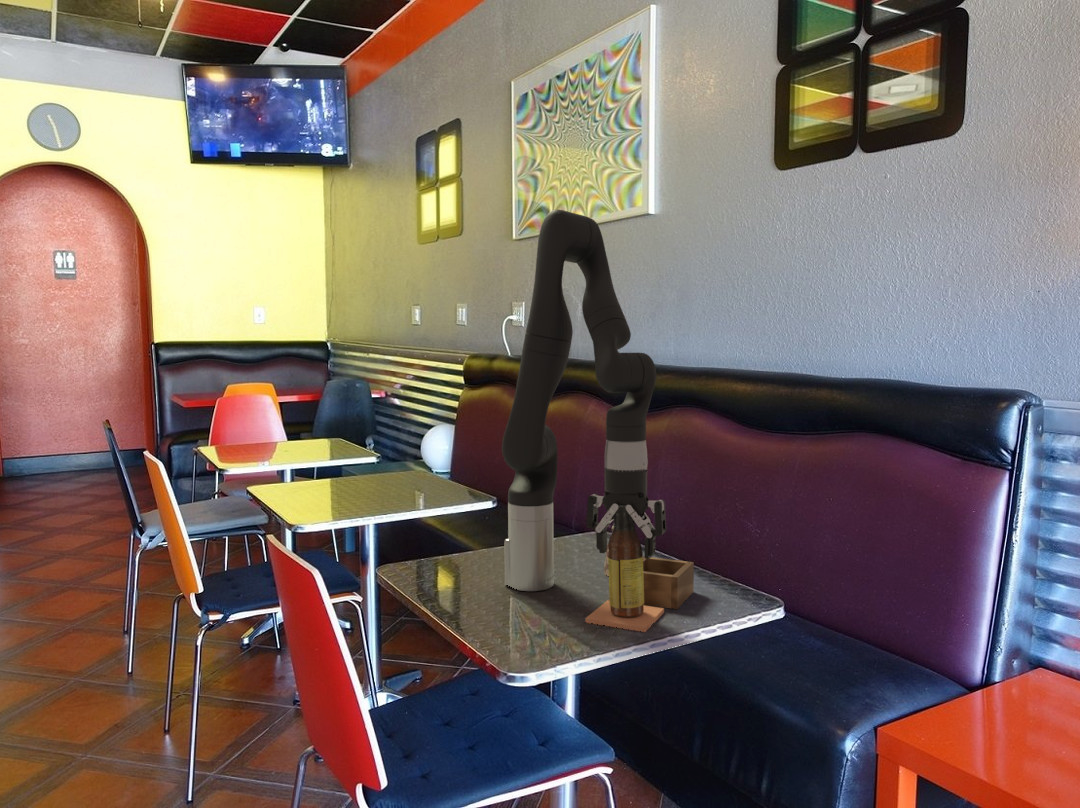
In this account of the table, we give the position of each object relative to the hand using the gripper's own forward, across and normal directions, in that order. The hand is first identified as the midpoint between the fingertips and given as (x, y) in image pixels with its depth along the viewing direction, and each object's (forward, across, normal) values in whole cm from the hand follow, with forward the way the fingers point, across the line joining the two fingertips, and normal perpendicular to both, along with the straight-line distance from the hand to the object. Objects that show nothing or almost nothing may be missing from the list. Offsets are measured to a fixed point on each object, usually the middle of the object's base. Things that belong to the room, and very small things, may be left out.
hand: (625, 555), depth 140 cm
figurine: (+12, -10, +25) cm, 29 cm away
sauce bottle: (+11, 0, 0) cm, 11 cm away
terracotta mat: (+11, 0, 0) cm, 11 cm away
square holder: (+11, +2, +14) cm, 18 cm away
